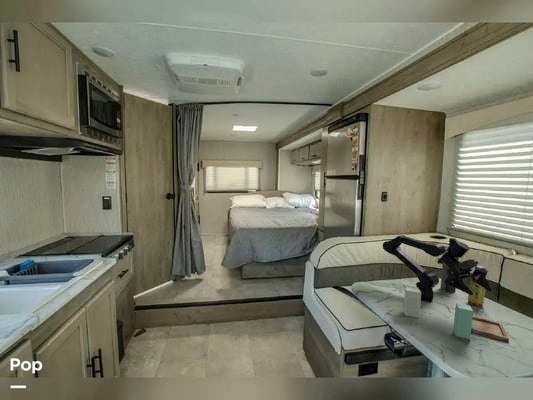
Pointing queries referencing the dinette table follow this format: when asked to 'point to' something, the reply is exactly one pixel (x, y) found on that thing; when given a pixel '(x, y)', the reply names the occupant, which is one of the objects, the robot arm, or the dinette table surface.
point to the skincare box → (412, 302)
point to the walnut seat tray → (489, 328)
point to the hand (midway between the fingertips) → (481, 292)
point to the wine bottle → (446, 271)
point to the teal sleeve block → (462, 322)
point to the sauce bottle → (476, 292)
